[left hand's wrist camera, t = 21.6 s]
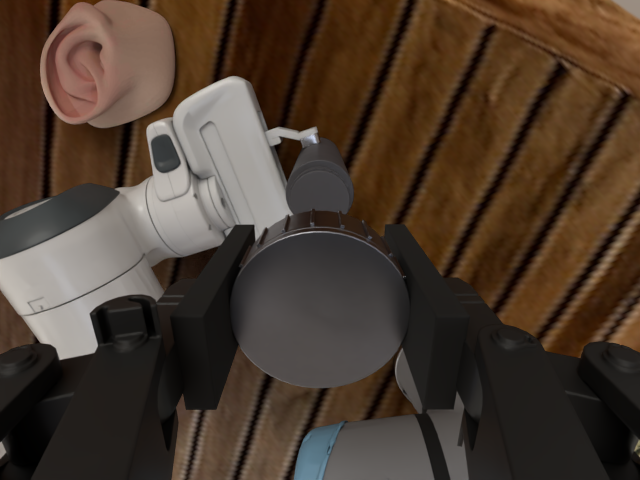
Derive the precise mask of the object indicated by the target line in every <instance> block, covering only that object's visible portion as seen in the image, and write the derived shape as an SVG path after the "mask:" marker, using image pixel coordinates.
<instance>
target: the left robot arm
mask: <svg viewBox="0 0 640 480" xmlns="http://www.w3.org/2000/svg"><path fill="white" fill-rule="evenodd" d="M384 238H385V240H386V242H387V244H388V246H389V248H390V250H391V252H392V254H393V257H394V256H395V257H396V259H397V261H398V263H399V265H400V267H401V269H402V270H403V272H404V274H405V277H406V279H405V283H406V286H407V289H408V291H409V297H410V315H409V324H408V330H407V333H406V335H405V338H404V340H403V342H402V344H401V345H400V347H399V349H398V350H397V352H396V353H395V356H394V364H393V366H394V372H395V376H396V380H397V383H398V385H399V387H400V389H401V391H402V392H403V394H404V395H405V396H406V398H407V399H408V400H409V401H410V402H411V403H412V404H413V406H414V407H415V409H416V410H417V412H418V413H419V414H411V415H403V416H395V417H387V418H379V419H371V420H362V421H354V422H348V421H341V422H340V423H338V424H333V425H328V426H322V427H317V428H315V429H313V430H311V431H310V432H309V433H308V434H307V435H306V437H305V438H304V440H303V442H302V445H301V447H300V450H299V454H298V458H297V463H296V469H295V475H294V480H640V457H639V456H638V455H637V453H636V452H635V451H634V450H635V448H636V445H637V443H638V441H639V440H640V353H639V352H637V351H635V350H633V349H631V348H629V347H627V346H624V345H620V344H616V343H608V342H592V343H589V344H587V345H586V346H584V349H583V352H582V355H581V358H576V357H571V356H566V355H561V354H556V353H551V352H547V351H545V350H544V348H543V346H542V345H541V343H540V342H539V341H538V340H537V339H536V338H535V337H534V336H532V335H531V334H529V333H528V332H526V331H524V330H521V329H519V328H516V327H513V326H509V325H504V324H503V323H502V322H501V321H500V320H499V318H498V317H497V316H496V315H495V314H494V312H493V311H492V310H491V309H490V308H489V306H488V305H487V304H485V303H484V301H483V299H482V298H481V297H480V296H478V293H477V292H476V291H475V290H474V289H473V288H472V286H471V285H469V284H468V283H466V282H464V281H462V280H461V279H459V278H442V276H441V275H440V274H439V272H438V271H437V269H436V268H435V267H434V265H433V264H432V262H431V261H430V260H429V258H428V257H427V255H426V254H425V253H424V251H423V250H422V248H421V247H420V246H419V244H418V243H417V241H416V240H415V239H414V237H413V236H412V234H411V233H410V232H409V230H408V229H407V228H406V226H405V225H385V236H384ZM255 242H256V239H255V225H235V226H234V227H233V229H232V230H231V231H230V233H229V234H228V236H227V237H226V238H225V240H224V241H223V243H222V244H221V245H220V247H219V248H218V249H217V251H216V252H215V254H214V255H213V256H212V258H211V259H210V261H209V262H208V263H207V265H206V266H205V268H204V269H203V270H202V272H201V273H200V275H199V276H198V277H197V279H181V280H179V281H178V282H176V283H174V284H173V285H171V286H169V288H168V289H167V290H166V291H165V292H164V293H163V295H162V297H160V298H159V299H158V301H157V302H156V300H155V299H154V298H153V297H151V296H148V295H143V294H134V295H126V296H121V297H117V298H114V299H111V300H108V301H106V302H104V303H102V304H100V305H99V306H97V307H95V308H94V309H93V310H92V311H91V312H90V313H89V314H90V318H91V322H92V325H93V329H94V333H95V336H96V340H97V344H98V347H97V349H96V351H95V353H91V354H87V355H82V356H77V357H72V358H67V359H62V360H60V359H59V356H58V353H57V350H56V348H55V347H54V346H52V345H51V344H43V343H38V344H30V345H29V344H28V345H23V346H21V347H16V348H13V349H10V350H9V351H7V352H5V353H3V354H0V442H2V444H3V446H4V448H5V451H6V453H5V454H4V455H3V456H2V458H1V459H0V480H171V478H172V470H173V462H174V455H175V447H176V439H177V431H178V416H177V410H176V406H177V404H178V402H179V400H180V398H181V396H182V394H183V395H184V401H185V407H186V410H216V409H217V406H218V403H219V400H220V397H221V394H222V391H223V388H224V386H225V383H226V380H227V377H228V374H229V371H230V368H231V365H232V362H233V359H234V356H235V353H236V350H237V347H238V345H239V344H238V343H237V341H236V339H235V336H234V334H233V331H232V326H231V318H230V307H229V300H230V295H231V291H232V287H233V285H234V282H235V280H236V278H237V275H238V274H239V271H240V269H241V268H240V267H239V265H240V263H241V261H242V259H243V257H244V255H245V253H246V251H247V250H248V248H249V246H253V244H254V243H255Z"/></svg>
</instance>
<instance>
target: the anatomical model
mask: <svg viewBox="0 0 640 480" xmlns="http://www.w3.org/2000/svg"><path fill="white" fill-rule="evenodd" d="M40 73H41V82H42V87H43V91H44V93H45V96H46V98H47V100H48V102H49V104H50V106H51V108H52V109H53V111H54V112H55V113H56V115H57V116H58V117H59V118H60V119H62V120H63V121H65V122H67V123H70V124H82V123H86V122H88V123H89V124H90V125H92V126H95V127H98V128H108V127H114V126H118V125H121V124H125V123H128V122H130V121H133V120H136V119H138V118H140V117H143V116H145V115H147V114H149V113H151V112H153V111H154V110H156V109H158V108H159V107H160V106H162V105H163V104H164V103H165V102H166V100H167V99H168V97H169V96H170V93H171V91H172V88H173V83H174V77H175V51H174V42H173V36H172V32H171V29H170V26H169V24H168V22H167V21H166V20H165V19H164V17H162V16H161V15H159V14H158V13H156V12H154V11H152V10H149V9H147V8H144V7H141V6H138V5H135V4H131V3H128V2H122V1H115V0H104V1H100V2H99V3H97V4H95V5H94V6H93V5H91V4H88V3H84V2H80V3H77V4H75V5H74V6H73V7H72V8H71V9H70V11H69V12H68V13H67V14H66V16H65V17H64V18H63V19H62V21H61V22H60V23H59V24H58V26H57V27H56V28H55V29H54V31H53V32H52V34H51V35H50V36H49V38H48V40H47V42H46V43H45V46H44V48H43V51H42V56H41V64H40Z"/></svg>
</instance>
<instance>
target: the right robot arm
mask: <svg viewBox="0 0 640 480" xmlns="http://www.w3.org/2000/svg"><path fill="white" fill-rule="evenodd" d="M283 137H286V138H291V139H296V140H300V141H301V144H302V146H303V148H306V147H309V146H310V145H311V144H313V145H315V144H318V143H320V142H321V140H320V137H319V133H318V130H317V127H313V128H310V129H307V130H304V131H301V132H299V131H296V130H292V129H287V128H282V127H277V128H274V129H271V130H268V128H267V125H266V123H265V120H264V117H263V114H262V112H261V109H260V106H259V103H258V101H257V98H256V95H255V93H254V90H253V87H252V85H251V83H250V82H248V81H246V80H245V79H243V78H241V77H237V76H232V77H228V78H225V79H223V80H220V81H218V82H216V83H214V84H212V85H210V86H207V87H206V88H204V89H202V90H200V91H198V92H196V93H195V94H193V95H191V96H190V97H188V98H187V99H185V100H184V101H183V102H181V103H180V104H179V105H178V107H177V108H176V110H175V112H174V115H173V117H171V118H165V119H161V120H158V121H156V122H154V123H152V124H150V125H149V126H148V127H147V140H148V146H149V151H150V157H151V163H152V170H153V176H151V177H149V178H147V179H146V180H145V181H143V182H142V183H141V184H139V185H137V186H134V187H121V188H116V189H113V188H109V187H105V186H101V185H96V184H92V183H87V184H82V185H79V186H76V187H73V188H71V189H69V190H67V191H65V192H63V193H61V194H59V195H57V196H53V197H49V198H45V199H41V200H38V201H34V202H31V203H28V204H25V205H22V206H20V207H17V208H15V209H13V210H11V211H8V212H7V213H5V214H3V215H1V216H0V290H1V291H2V293H3V294H4V296H5V297H6V298H7V300H8V301H9V302H10V304H11V305H12V306H13V308H14V309H15V310H16V312H17V313H18V314H19V315H21V316H22V318H23V319H24V321H25V322H26V323H27V325H28V326H29V328H30V329H31V330H32V332H33V333H34V334H35V336H36V337H37V339H38V340H39V341H40V343H43V344H51V345H52V346H54V347H55V348H56V350H57V353H58V356H59V359H60V360H62V359H67V358H72V357H77V356H82V355H87V354H91V353H95V351H96V349H97V347H98V344H97V340H96V336H95V333H94V329H93V325H92V322H91V318H90V314H89V313H90V312H91V311H92V310H93V309H94V308H95V307H97V306H99V305H100V304H102V303H104V302H106V301H108V300H111V299H114V298H117V297H121V296H126V295H134V294H143V295H148V296H151V297H153V298H154V299H155V300H156V302H157V301H158V299H159V298H160V297H162V295H163V293H164V291H163V289H162V287H161V285H160V283H159V281H158V280H157V278H156V276H155V274H154V272H153V270H152V269H151V267H152V266H155V265H156V264H158V263H159V262H161V261H162V260H164V259H166V258H170V257H184V256H188V255H191V254H195V253H198V252H201V251H204V250H207V249H210V248H214V247H217V246H218V248H219V247H220V245H221V244H222V243H223V241H224V240H225V238H226V237H227V236H228V234H229V233H230V231H231V230H232V229H233V227H234V226H235V225H255V239H256V240H257V239H258V238H259V236H260V235H261V234H262V232H263V230H264V228H265V227H267V228H269V227H271V226H272V225H273V224H275V223H276V222H278V221H280V220H282V219H284V218H285V216H286V215H288V214H289V216H291V215H293V213H292V212H291V211H290V209H289V207H288V204H287V201H286V185H287V180H286V177H285V175H284V172H283V169H282V167H281V164H280V161H279V158H278V156H277V153H276V150H275V147H274V145H276V144H279V143H281V142H282V141H283ZM5 453H6V451H5V448H4V446H3V444H2V442H0V459H1V458H2V456H3V455H4V454H5Z"/></svg>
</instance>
